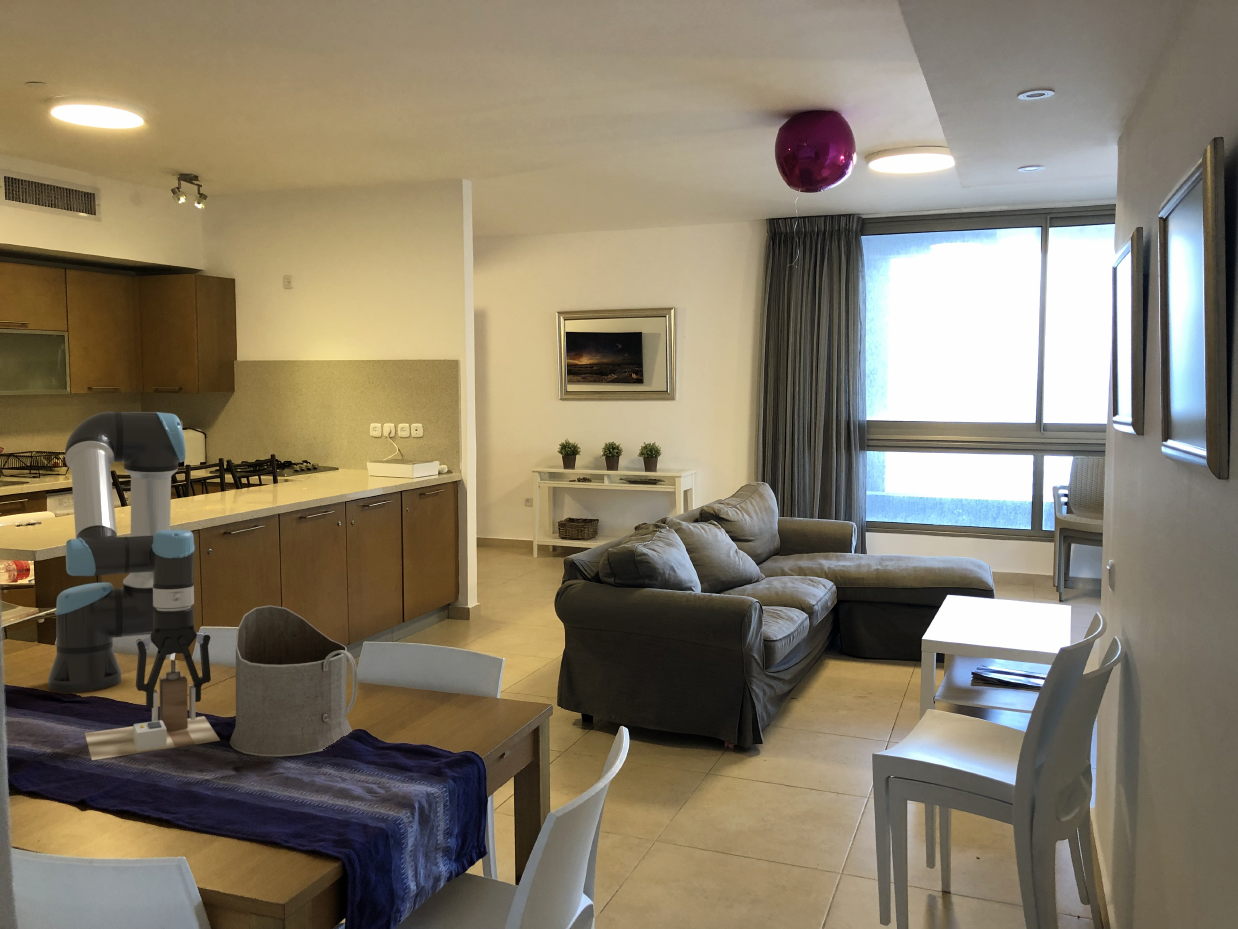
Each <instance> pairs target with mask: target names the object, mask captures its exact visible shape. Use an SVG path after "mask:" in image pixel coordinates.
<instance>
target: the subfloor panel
mask: <svg viewBox="0 0 1238 929" xmlns="http://www.w3.org/2000/svg"><path fill="white" fill-rule="evenodd" d="M84 735H85V739H86V740H85V741H86V744H87V747H88V751H89V755H90V758H91V761H96V760H103V759H110V758H115V757H121V756H123V757H124V756H127V755H128V756H129V755H135V754H142V753H148V752H155V751H160V750H167V749H173V748H181V747H187V746H193V745H199V744H200V745H201V744H206V743H212V742H213V743H214V742H218V741H219V742H220V741H221V739H220V737H219V736H218V735H217V733H216V731H215V730H214V728H213V727H212V726H211V724H210V722H209V721H208V719H207V718H206V717H205V716H197V717H196V716H195V720H191V718H190V717H189V718H188V728H187V729H180V730H174V731H167V747H163V748H157V749H150V750H144V751H137V749H136V747H135V744H134V725H133V726H126V727H120V728H119V727H118V728H113V729H105V730H99V731H91V732H85V733H84Z"/></svg>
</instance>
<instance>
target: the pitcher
mask: <svg viewBox="0 0 1238 929" xmlns="http://www.w3.org/2000/svg"><path fill="white" fill-rule="evenodd" d="M235 641H236V642H235V728H234V729H233V731H232V735H231V737H230V741H229V745H230V746H231V747H232V748H233V749H234V750H236V751H237V752H241V753H243V754H246V755H247V754H248V755H252V756H259V757H289V756H302V755H306V754H312V753H319V752H322V751H324V750H323V749H325V748H326V747H328V746H329V745H331V744H333V743H335V742H336V741H337V740H339V739H340V738H341V737H343V736H346V735H348V734H349V733H350V732H352V727H351V725H350V722H349V719H348V718H347V715H348V714H349V713H350V712H351V710H352V708H353V707H354V705H355V702H356V699H357V692H358V668H357V664H356V661H355V658H354V657H353V655H352V654H351V653H350V652H348V651H347V647H346V646H345V645H343V644H341V643H339V642H337V641H335V640H332V639H330V638H329V637H328V636H326V635H325V634H324V633H322V632H321V631H319V630H318V629H317V628H315V626H313V625H312V624H310V622H308V621H307V620H306V619H304V618H303V617H302V616H300V615H299V614H297V613H295V612H293V611H292V610H290V609H288V608H286V607H282V606H275V605H265V606H259V607H254V608H253V609H251V610H250V611H249V612H247V613H245V614H243V616H242V618H241V621H240V623H239V624H238V627H237V629H236V640H235ZM347 660H348V662H349V664H350V667H351V668H350V669H351V674H352V675H351V676H352V682H351V683H352V684H351V696H350V701H349V702H348V705H347V664H348V663H347ZM325 750H326V749H325Z"/></svg>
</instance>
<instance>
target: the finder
mask: <svg viewBox="0 0 1238 929" xmlns="http://www.w3.org/2000/svg"><path fill="white" fill-rule="evenodd" d="M133 726H134V744H135V747H136V749H137V751H144V750H150V749H157V748H163V747H167V729H166V727H165V725H164V723H163V721H162V720H160V719H159V720H158V721H152V720H151V721H147V722H140V723H134V724H133Z"/></svg>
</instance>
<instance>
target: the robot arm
mask: <svg viewBox="0 0 1238 929" xmlns="http://www.w3.org/2000/svg"><path fill="white" fill-rule="evenodd" d="M186 453H187V452H186V442H185V436H184V431H183V427H182V422H181V421H180V419H179V417H178V416H177V414H174V413H171V412H169V413H168V412H158V411H118V412H117V411H103V412H99V413H96V414H94V415H91V416H90V417H88V418H86V419H84V420H82V421H81V423H79V424H78V425H77V426H76V428H74V430H73V431H72V432H71V433H70V436H69V437H68V439H67V441H66V445H65V448H64V460H65V464H66V466H67V468H69V469H70V470H71V483H72V484H71V485H72V500H73V501H72V502H73V515H74V533H75V538H71V539H68V540H67V541H66V543H65V566H66V567H65V569H66V573H67V575H69V576H73V577H75V576H76V577H95V576H104V575H117V574H119V575H121V574H127V576H126V577H125V578H124V579H123V580H122V587H119V588H114V585H113V584H112V583H111V582H109V581H108V582H107V581H105V582H94V583H93V582H92V583H87V584H81V585H77V586H73V587H70V588H67V589H65V590H62V591H61V592H60V593H59V594H58V595H57V597H56V605H55V606H56V609H55V612H54V614H55V615H56V640H55V641H56V644H55V645H56V654H55V658H54V661H53V663H52V665H51V669H50V672H49V675H48V677H47V688H48V690H50V691H52V692H56V693H57V692H58V693H65V694H66V693H69V694H70V693H71V694H73V693H86V692H94V691H99V690H103V689H107V688H111V687H114V686H117V685H119V684H120V683H121V682H122V670H121V668H120V665H119V662H118V660H117V657H116V654H115V652H114V641H113V640H114V639H116V638H124V637H135V636H138V637H139V636H147V635H150V636H149V637H146V638H143V639H141V638H139V639H136V641H135V644H136V648H137V654H138V655H137V665H136V666H137V668H136V678H135V687H136V690H137V691H139V692H145V705H146V707H147V709H151V722H152V721H159V692H158V690H157V689H155V687H156V686H157V683H158V679H159V677H160V674H161V671H162V668H163V666H164V662H165V660H166V658H167V656H168V655H172V654H178V655H180V654H182V656H183V660H184V662H185V665H186V667H187V669H188V673H189V675H190V678H191V680H192V682H193V683H192V684H189V685H188V687H189V688H188V691H189V692H188V698H189V699H188V704H189V706H188V712H189V713H188V716H189V718H191V720H195V718H196V703H199V702H201V701H202V687H203V685H204V684H206V683H211V679H212V678H211V676H212V675H211V665H210V654H209V653H210V652H209V645H210V641H211V636H210V634H209V633H207V632H203V633H201V632H197V630H196V629H195V608H194V607H193V605H194V604H195V592H194V591H195V585H194V584H195V580H194V577H195V576H194V573H195V572H194V571H195V570H194V569H195V567H194V566H195V550H196V545H195V540H194V538H195V537H194V533H193V532H192V531H190V530H188V529H186V530H185V529H171V506H172V505H171V504H172V503H171V502H172V501H171V500H172V499H171V498H172V496H171V495H172V494H171V492H172V476H173V475H174V474H175V473H176V472H177V471H178V470H179V463H182V462H185V460H186ZM113 463H123V470H124V471H125V472H126V473H127V474H128V475H129V476H130V536H118V533H117V532H118V531H117V522H116V512H115V511H116V510H115V501H114V494H113V482H112V473H111V467H112V466H113ZM195 640H196V641H197V642H196V643H198V644H199V652H200V653H199V654H200V664H201V676H200V675H199V673H198V670H197V668H196V666H195V663H194V659H193V657H192V654H191V652H190V646H191V645H192V643H194V641H195ZM151 643H152V644H153V645H154V646H155V647H156V648H157V652H156V655H155V659H154V662H153V665H152V667H151V671H150V673H149V676H148V679H147V682H146V683H145V680H146V678H145V677H146V667H147V657H148V654H147V650H149V649H150V646H151Z"/></svg>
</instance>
